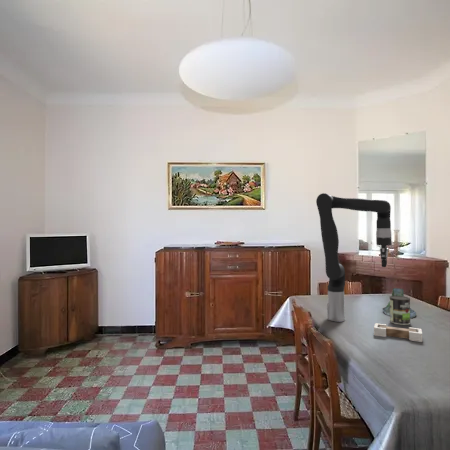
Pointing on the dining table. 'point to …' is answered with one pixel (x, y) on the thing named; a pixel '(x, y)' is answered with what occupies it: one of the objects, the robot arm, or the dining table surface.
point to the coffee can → (400, 310)
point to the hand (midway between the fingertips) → (384, 265)
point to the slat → (397, 332)
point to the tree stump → (397, 293)
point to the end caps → (412, 335)
